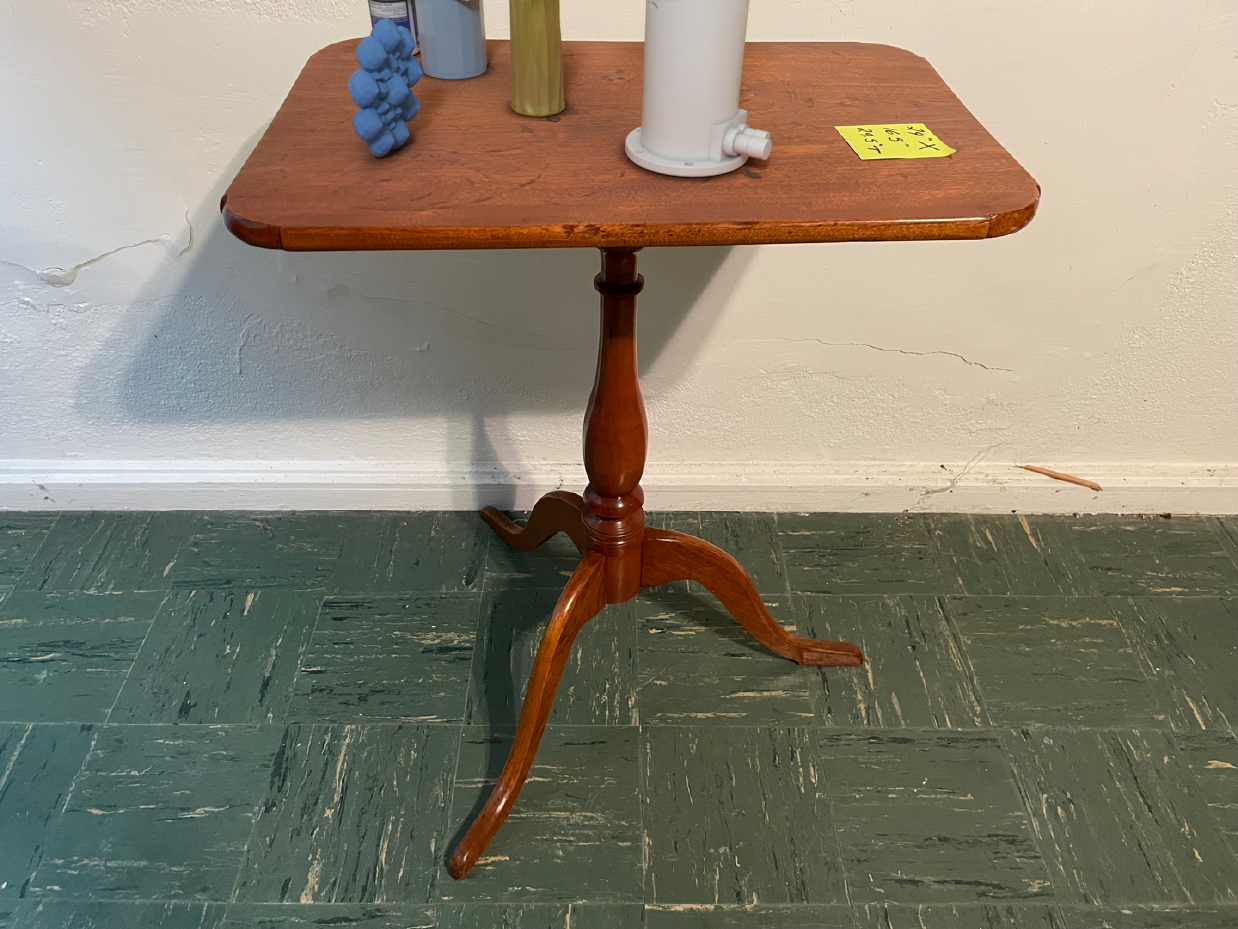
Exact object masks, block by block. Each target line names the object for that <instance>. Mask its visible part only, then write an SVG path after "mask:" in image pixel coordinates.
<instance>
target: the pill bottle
mask: <svg viewBox="0 0 1238 929" xmlns="http://www.w3.org/2000/svg"><path fill="white" fill-rule="evenodd" d="M367 2H368V10H369V16H370V23H371V30H372V29H373V27H374V25H375V24H376V23H377V22H378V21H379V20H380V19H384V18H388V19H390V20H392V21H394V23H395V24H396V26H397V27H398V26H403V27H405V28H407V29H408V30H409V32H410V33H411V34H412V36H413V39H414V42H415V45H416V46H415V49H414V50H413V52H412V54H411V55H412V56H414V55H417V54H418V53H419V52H420V44H419V35H418V26H417V18H416V9H415V0H367Z"/></svg>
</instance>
